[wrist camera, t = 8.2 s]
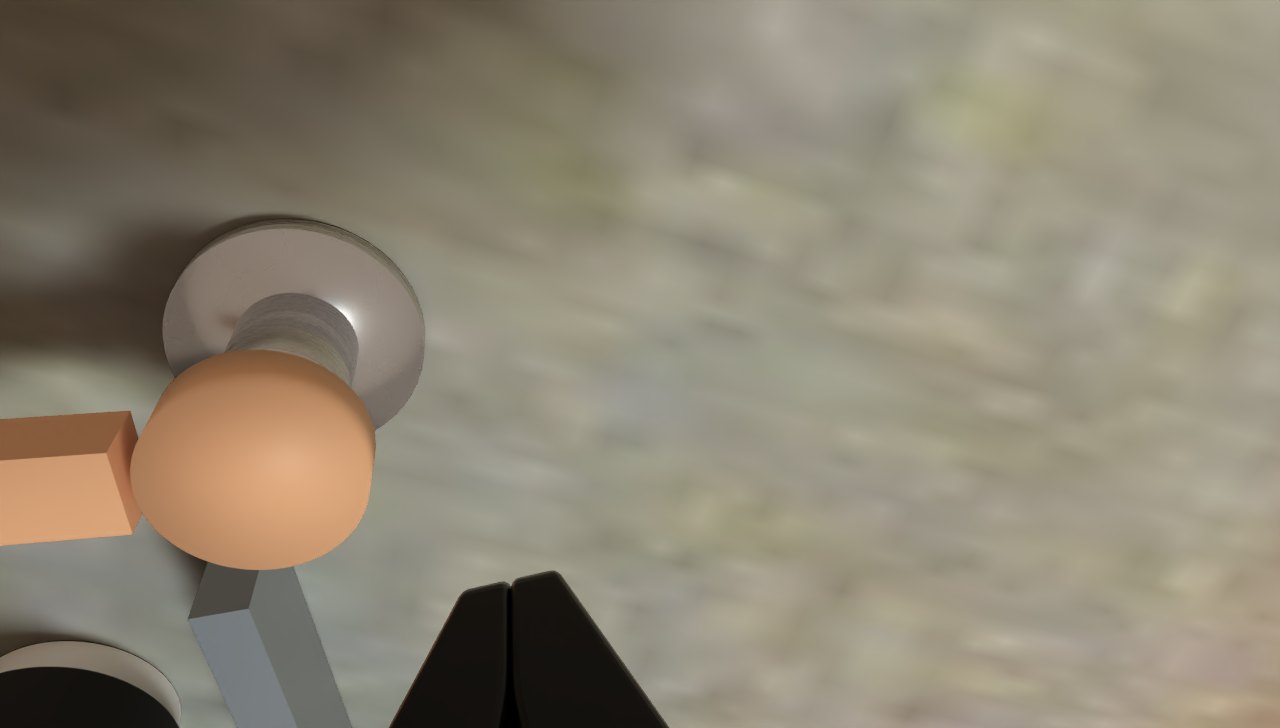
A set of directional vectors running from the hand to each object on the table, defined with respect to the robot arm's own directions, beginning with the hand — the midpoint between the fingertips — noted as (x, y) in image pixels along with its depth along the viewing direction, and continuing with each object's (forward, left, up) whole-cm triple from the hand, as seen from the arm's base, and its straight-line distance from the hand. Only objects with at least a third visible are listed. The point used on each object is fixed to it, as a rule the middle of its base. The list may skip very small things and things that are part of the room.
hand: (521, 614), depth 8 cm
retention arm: (-2, +9, -8) cm, 12 cm away
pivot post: (-3, +4, -12) cm, 13 cm away
